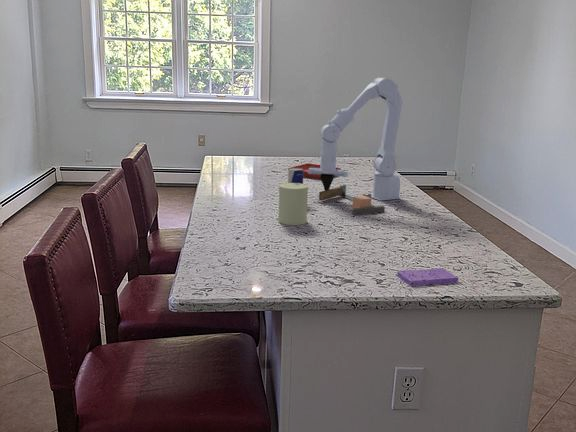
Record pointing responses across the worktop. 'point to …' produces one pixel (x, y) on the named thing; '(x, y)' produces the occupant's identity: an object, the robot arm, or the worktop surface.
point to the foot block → (361, 202)
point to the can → (293, 203)
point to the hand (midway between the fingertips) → (326, 194)
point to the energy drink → (295, 175)
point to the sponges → (426, 276)
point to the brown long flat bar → (330, 193)
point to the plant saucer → (307, 166)
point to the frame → (348, 195)
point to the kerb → (368, 210)
